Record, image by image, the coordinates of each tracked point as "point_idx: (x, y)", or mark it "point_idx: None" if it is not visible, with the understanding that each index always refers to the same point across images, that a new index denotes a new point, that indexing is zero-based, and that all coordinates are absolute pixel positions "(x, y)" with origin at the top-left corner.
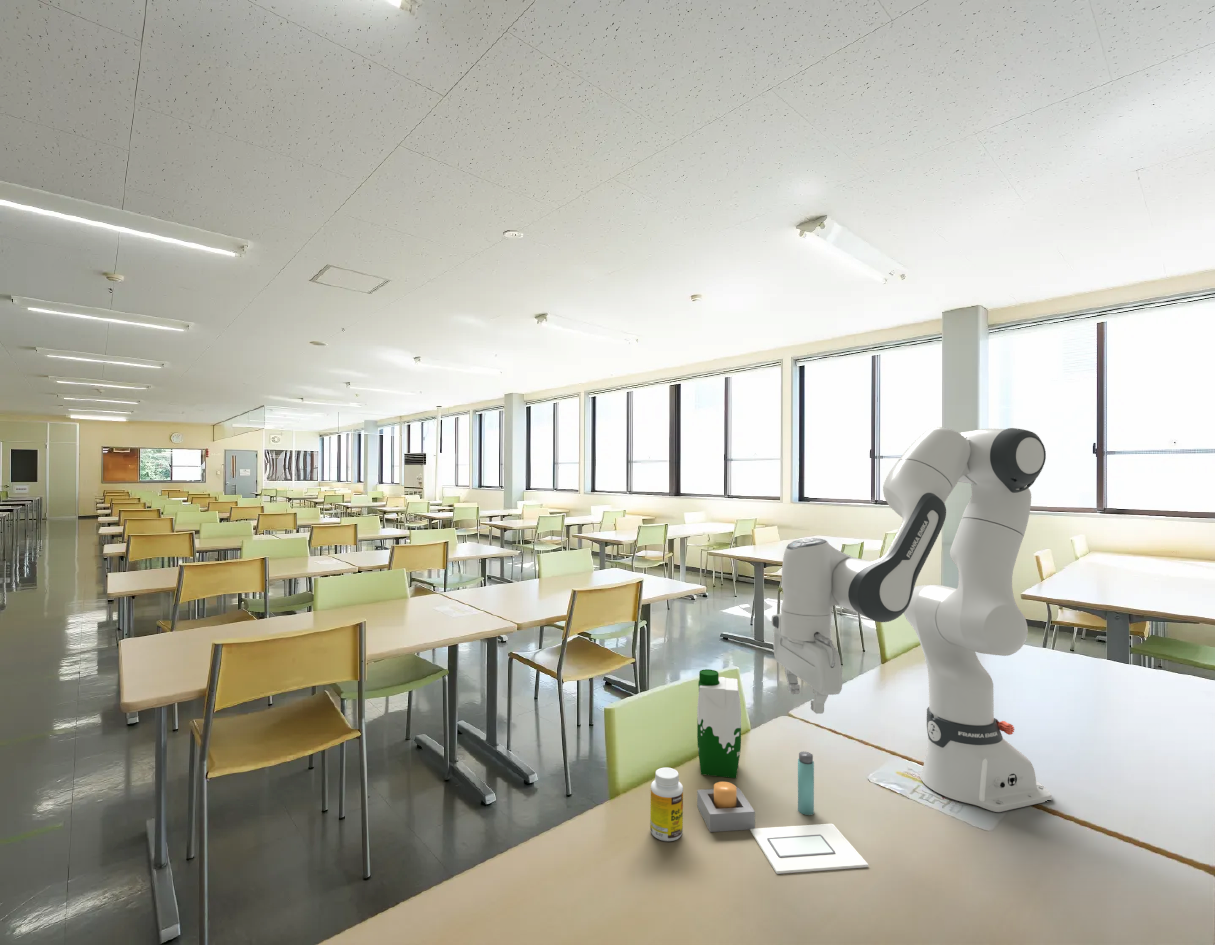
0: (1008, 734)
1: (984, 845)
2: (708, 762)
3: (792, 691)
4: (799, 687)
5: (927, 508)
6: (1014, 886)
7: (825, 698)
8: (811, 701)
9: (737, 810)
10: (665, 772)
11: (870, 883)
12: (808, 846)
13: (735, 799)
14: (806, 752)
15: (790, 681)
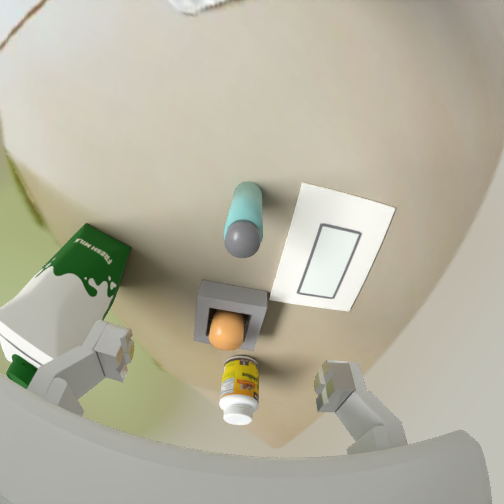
0: None
1: (414, 17)
2: (116, 293)
3: (131, 356)
4: (120, 348)
5: None
6: (473, 78)
7: (387, 414)
8: (323, 410)
9: (256, 323)
10: (236, 420)
11: (411, 227)
12: (334, 256)
13: (240, 324)
14: (232, 234)
15: (98, 378)
